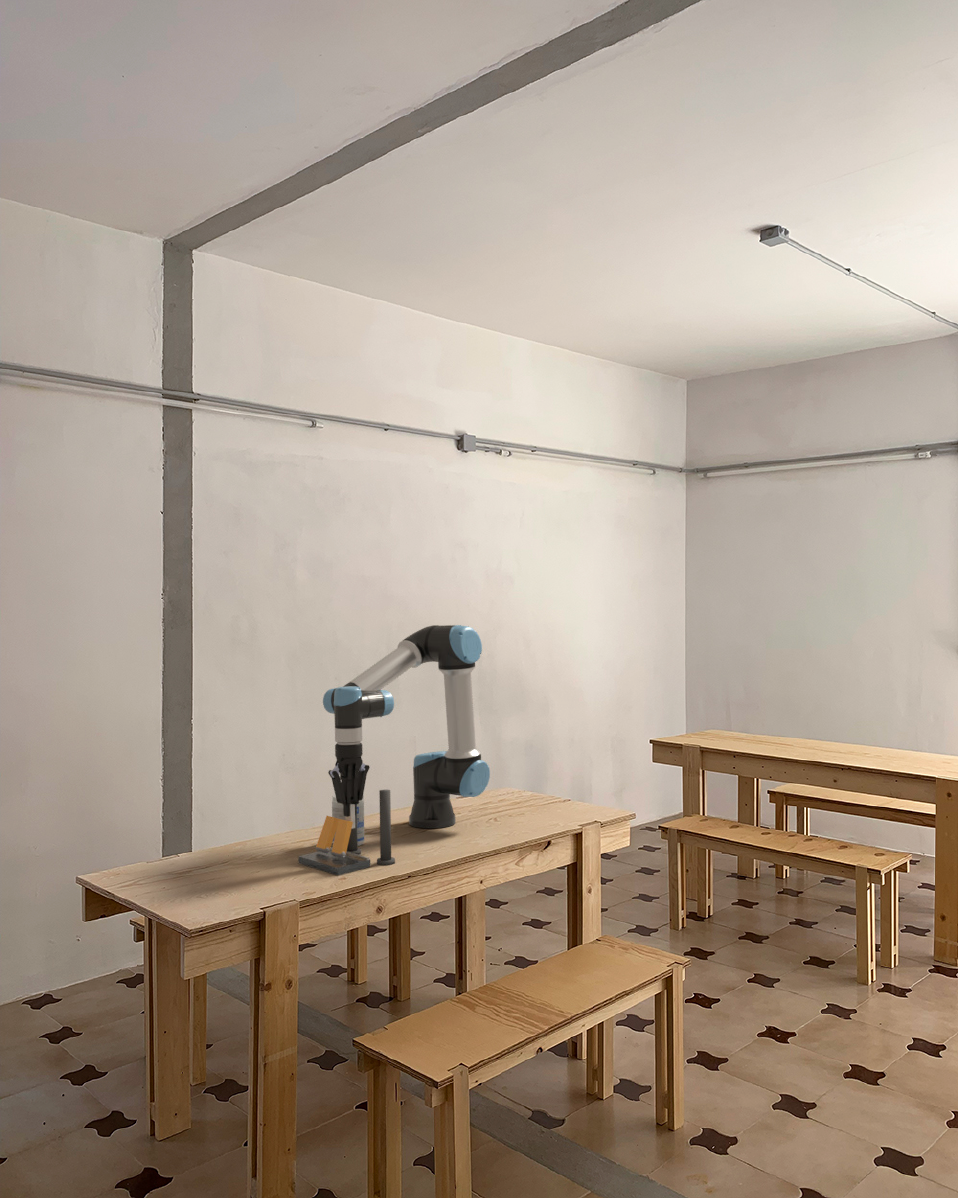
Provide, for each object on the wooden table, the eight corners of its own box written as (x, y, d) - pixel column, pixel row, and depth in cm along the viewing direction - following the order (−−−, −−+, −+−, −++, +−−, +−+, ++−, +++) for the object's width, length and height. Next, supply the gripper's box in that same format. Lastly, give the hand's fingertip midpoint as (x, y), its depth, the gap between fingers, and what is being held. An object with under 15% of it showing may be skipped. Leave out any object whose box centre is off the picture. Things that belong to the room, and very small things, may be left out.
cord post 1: (353, 850, 282) (352, 781, 282) (364, 853, 279) (363, 783, 279) (340, 853, 279) (338, 784, 279) (350, 856, 275) (349, 786, 275)
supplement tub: (351, 850, 283) (350, 799, 283) (325, 846, 288) (325, 796, 288) (371, 842, 291) (370, 793, 291) (345, 839, 296) (345, 791, 296)
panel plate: (330, 855, 277) (330, 846, 277) (370, 867, 264) (370, 857, 264) (298, 863, 269) (298, 854, 269) (338, 875, 256) (337, 865, 256)
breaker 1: (335, 855, 268) (343, 819, 270) (345, 858, 265) (353, 822, 267) (330, 855, 267) (338, 818, 269) (340, 857, 264) (348, 821, 266)
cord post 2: (387, 859, 272) (386, 788, 272) (398, 862, 268) (397, 790, 268) (373, 863, 268) (372, 790, 268) (384, 866, 265) (383, 793, 265)
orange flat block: (319, 851, 273) (330, 817, 276) (328, 854, 270) (340, 819, 273) (314, 850, 272) (326, 815, 275) (324, 852, 269) (335, 817, 272)
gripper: (358, 738, 276) (360, 821, 276) (321, 744, 267) (323, 829, 267) (375, 741, 271) (376, 825, 271) (338, 746, 262) (340, 834, 262)
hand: (350, 827), depth 269 cm, fingers closed
